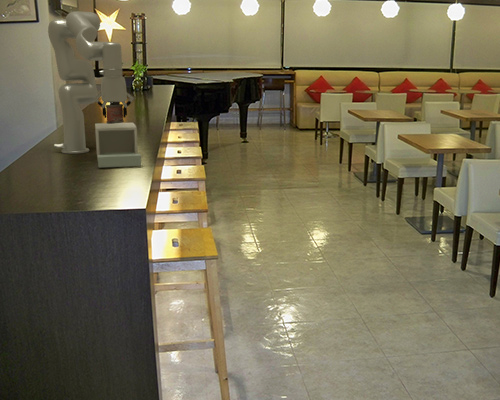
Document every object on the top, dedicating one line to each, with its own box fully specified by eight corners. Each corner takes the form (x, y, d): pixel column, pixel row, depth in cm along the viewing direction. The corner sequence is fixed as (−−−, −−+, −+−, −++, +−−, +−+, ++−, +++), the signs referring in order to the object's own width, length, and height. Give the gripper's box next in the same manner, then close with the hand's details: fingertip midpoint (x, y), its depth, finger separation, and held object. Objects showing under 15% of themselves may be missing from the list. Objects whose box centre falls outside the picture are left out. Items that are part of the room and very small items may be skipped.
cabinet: (138, 160, 260) (136, 127, 256) (97, 162, 255) (95, 128, 252) (134, 153, 277) (133, 122, 273) (96, 155, 272) (95, 123, 269)
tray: (141, 165, 244) (140, 155, 243) (98, 167, 240) (98, 157, 239) (137, 157, 263) (136, 147, 262) (97, 159, 259) (96, 149, 258)
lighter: (120, 121, 252) (119, 97, 250) (125, 122, 250) (124, 98, 248) (104, 123, 246) (103, 98, 244) (109, 124, 244) (108, 99, 242)
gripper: (90, 74, 238) (93, 118, 242) (135, 74, 242) (136, 118, 246) (90, 73, 245) (93, 116, 249) (133, 73, 249) (135, 116, 253)
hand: (115, 117), depth 248 cm, fingers closed on lighter, 7 cm apart
